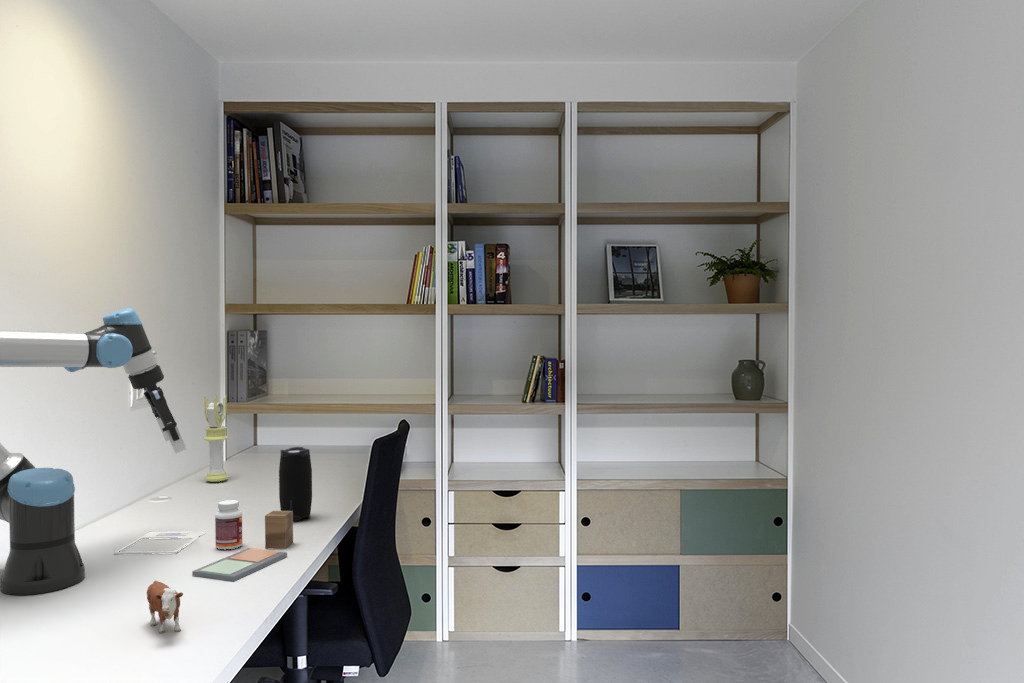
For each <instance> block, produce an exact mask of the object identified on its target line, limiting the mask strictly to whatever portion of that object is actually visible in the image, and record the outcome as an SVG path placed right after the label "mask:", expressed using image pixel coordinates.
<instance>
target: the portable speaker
mask: <svg viewBox="0 0 1024 683" xmlns="http://www.w3.org/2000/svg"><path fill="white" fill-rule="evenodd" d="M279 456H280V457H279V467H278V492H279V493H278V494H279V496H278V498H279V508H280V511H293V523H297V522H300V520H301V519H303V518H304V519H305V518H306V519H308V520H309V519H310V518H311V512H312V501H313V474H312V473H313V470H312V468H313V467H312V461H311V454H310V449H309V448H304V447H303V446H295V447H294V446H293V447H290V448H287V449H280V455H279Z"/></svg>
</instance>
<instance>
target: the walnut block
mask: <svg viewBox="0 0 1024 683" xmlns="http://www.w3.org/2000/svg"><path fill="white" fill-rule="evenodd" d="M264 525H265V526H264V538H265V544H264V546H265V549H268V548H273V550H274V549H276V550H278V549H280V550H282V549H283V550H285V549H288V547H290V546H291V545H292V544H294V522H293V511H281V510H272V511H270V512H269V513H267V514H266V515H264Z"/></svg>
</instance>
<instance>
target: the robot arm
mask: <svg viewBox="0 0 1024 683" xmlns="http://www.w3.org/2000/svg"><path fill="white" fill-rule="evenodd" d="M102 322H103V325H101V326H99V327H98V328H94V329H92V330H89V331H85V332H67V331H39V330H14V329H13V330H10V329H9V330H8V329H0V368H64V369H65V370H66V371H67V372H70V373H75V372H78V371H80V370H84V369H86V368H109V369H116V368H121V367H123V370H124V371H125V374H126V375H128V379H129V382H130V384H131V386H132V389H134V390H142V389H143V390H144V392H143V395H144V397H145V399H146V400H147V402H148V404H149V406H150V408H151V411H152V414H153V415H154V417H155V418H156V421H157V424H158V426H159V428H160V431H161V433H162V436H163V437H164V440H165V442H168V441H169V443H170V445H171V447H172V449H173V451H174V454H178V453H181V452H183V451H185V450H187V447H186V444H185V442H184V439H183V437H182V435H181V433H180V430H179V428H178V422H176V420H175V418H174V416H173V413H172V412H171V410H170V408H169V406H168V402H167V399H166V398H165V395H164V392H163V389H162V388H161V387H160V386H157V384H158V383H160V382H161V381H163V380H164V378H165V376H164V373H163V370H162V368H161V366H160V365H159V364H158V360H157V357H156V355H157V354H158V352H157V351H156V350H153V348H152V346H151V343H150V341H149V338H148V336H147V333H146V331H145V328H144V325H143V323H142V321H141V319H140V317H139V315H138V314H137V311H136V310H135V309H134V308H131V307H127V308H122V309H118V310H116V311H115V310H114V311H112V312H110V313H108V314H105V315H104V316H103V317H102ZM75 490H76V487H75V483H74V478H73V475H72V473H70V472H69V471H68V470H65V469H62V468H53V467H36V466H35V465H34V464H33V463H32V462H30V460H29V459H28V458H27V457H26V456H25V455H24V454H23V453H20V452H10V451H9V450H8V449H7V448H6V447H5V446H4V445H3V444H2V443H1V442H0V520H2V521H4V522H6V523H8V524H9V553H8V556H7V560H6V562H5V566H4V568H3V573H2V575H1V576H0V591H1V592H2V593H4V594H7V595H14V596H16V595H17V596H22V595H23V596H25V595H28V596H29V595H37V594H38V595H39V594H44V593H49V592H53V591H57V590H62V589H66V588H68V587H71V586H73V585H74V586H75V585H77V584H79V582H82V581H83V580H85V578H86V569H85V568H86V567H85V563H84V562H83V560H82V556H81V554H80V551H79V549H78V547H77V544H76V537H75V536H76V534H75V533H76V532H75V531H76V530H75V526H76V524H75Z"/></svg>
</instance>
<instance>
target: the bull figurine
mask: <svg viewBox="0 0 1024 683" xmlns="http://www.w3.org/2000/svg"><path fill="white" fill-rule="evenodd" d="M183 595H184V593H183V592H177V591H176V590H175V589H173V588H171V587H170V586H168V585H167V584H166V583H164V582H161V581H158V580H154V581H153V582H152V583H150V584H149V585H148V587H147V590H146V599H147V602H148V610H149V614H150V615H151V616H150V618H151V619H150V626H152V627H154V626H156V625H157V620H156V619H157V618H156V616H155V614H156V613H155V612H157V613H158V618H159V622H160V627H159V634H164V633H165V632H166V627H165V626H166V625H165V621H166V618H167V619H168V620H171V619H172V618H173V622H174V632H175V633H179V632H181V631H182V628H181V626H180V624H179V621H180V618H179V616H180V613H179V612H180V606H181V598H182V597H183Z"/></svg>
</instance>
